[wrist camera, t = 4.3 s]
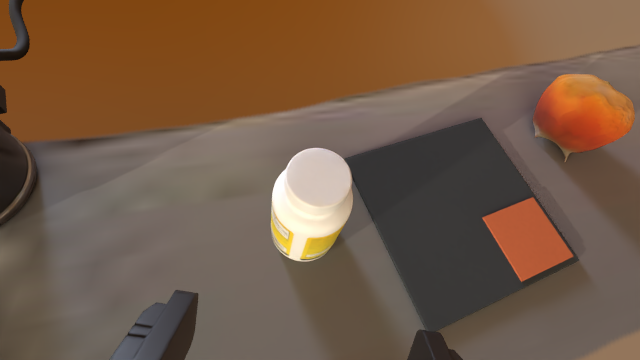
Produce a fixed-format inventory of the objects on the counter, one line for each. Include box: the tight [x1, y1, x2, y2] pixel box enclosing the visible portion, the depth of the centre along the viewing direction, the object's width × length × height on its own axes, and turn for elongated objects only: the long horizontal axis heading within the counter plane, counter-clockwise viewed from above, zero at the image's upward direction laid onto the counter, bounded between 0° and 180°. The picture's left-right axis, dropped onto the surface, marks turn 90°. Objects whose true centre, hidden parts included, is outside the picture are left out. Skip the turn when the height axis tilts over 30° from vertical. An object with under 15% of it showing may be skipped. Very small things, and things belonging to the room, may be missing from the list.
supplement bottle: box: [271, 148, 353, 261], centre depth 25 cm, size 5×5×10 cm
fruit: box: [533, 74, 635, 162], centre depth 36 cm, size 8×8×8 cm
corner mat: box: [344, 118, 579, 332], centre depth 32 cm, size 16×16×1 cm
